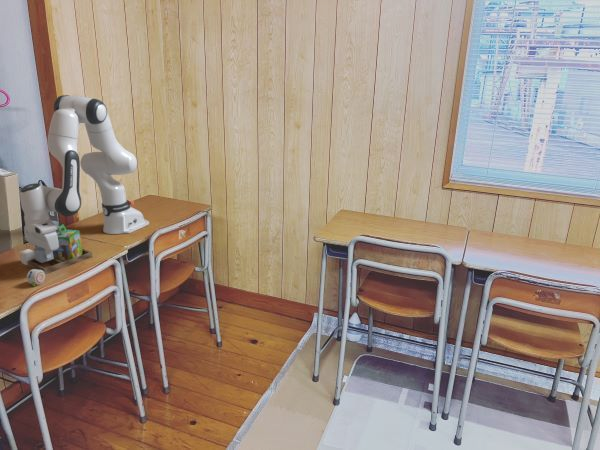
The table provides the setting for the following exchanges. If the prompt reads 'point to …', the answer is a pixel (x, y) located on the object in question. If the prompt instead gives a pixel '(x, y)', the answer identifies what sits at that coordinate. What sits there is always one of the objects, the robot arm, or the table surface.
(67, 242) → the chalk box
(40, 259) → the slate cube
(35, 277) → the roller toy
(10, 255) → the table surface
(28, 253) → the eraser
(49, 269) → the divider frame
